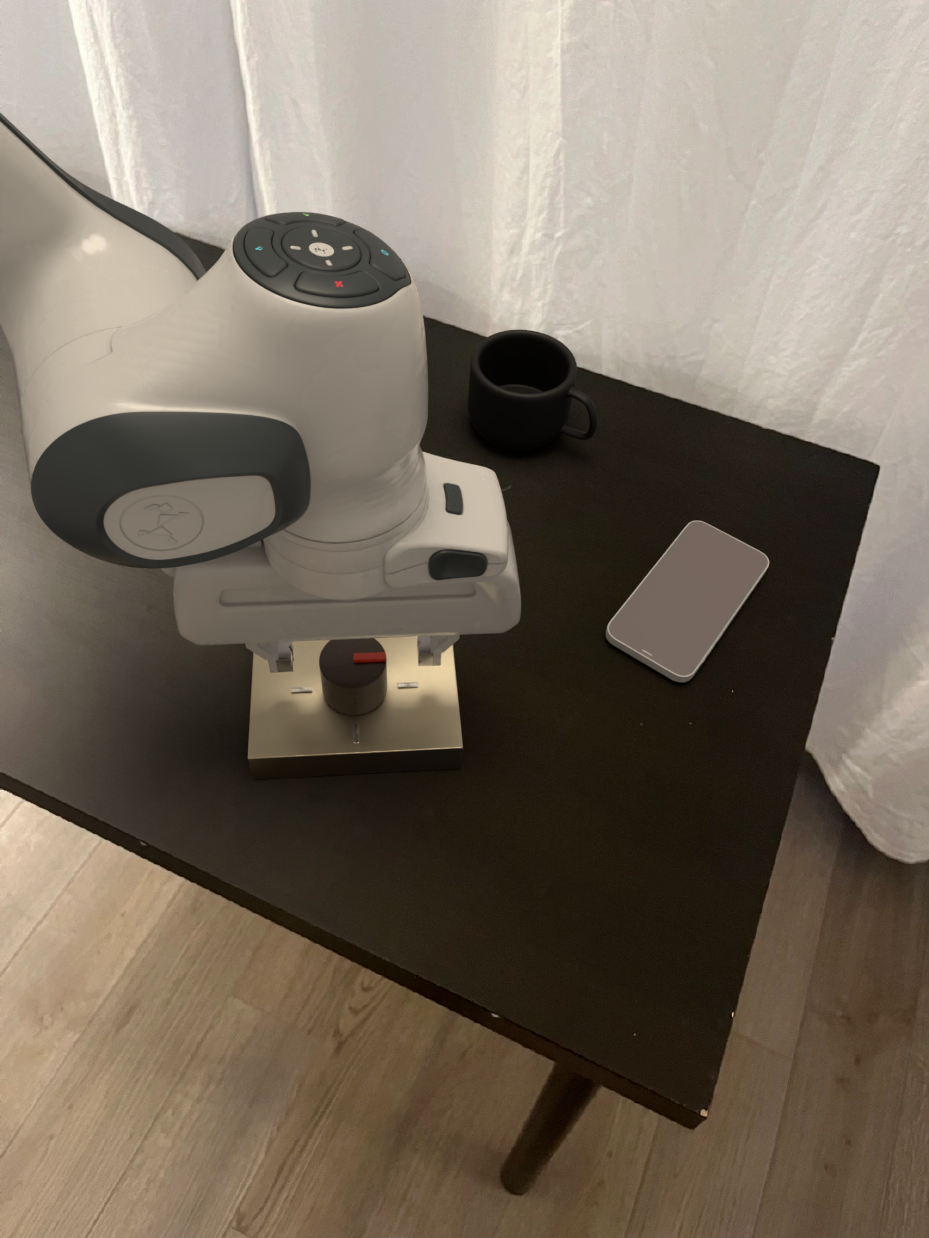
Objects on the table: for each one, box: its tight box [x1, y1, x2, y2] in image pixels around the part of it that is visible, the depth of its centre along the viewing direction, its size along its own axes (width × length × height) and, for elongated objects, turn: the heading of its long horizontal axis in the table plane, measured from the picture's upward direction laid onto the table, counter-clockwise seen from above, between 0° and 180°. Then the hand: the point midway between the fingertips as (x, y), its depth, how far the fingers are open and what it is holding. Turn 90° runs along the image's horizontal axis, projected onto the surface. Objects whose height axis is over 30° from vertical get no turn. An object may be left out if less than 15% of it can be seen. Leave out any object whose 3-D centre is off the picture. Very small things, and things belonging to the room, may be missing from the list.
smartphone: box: [605, 520, 770, 683], centre depth 75 cm, size 7×1×15 cm
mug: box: [467, 329, 598, 451], centre depth 83 cm, size 12×9×7 cm
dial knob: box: [319, 638, 387, 715], centre depth 64 cm, size 4×4×4 cm
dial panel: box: [247, 637, 464, 780], centre depth 66 cm, size 14×10×3 cm
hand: (356, 660), depth 62 cm, fingers open, 8 cm apart
